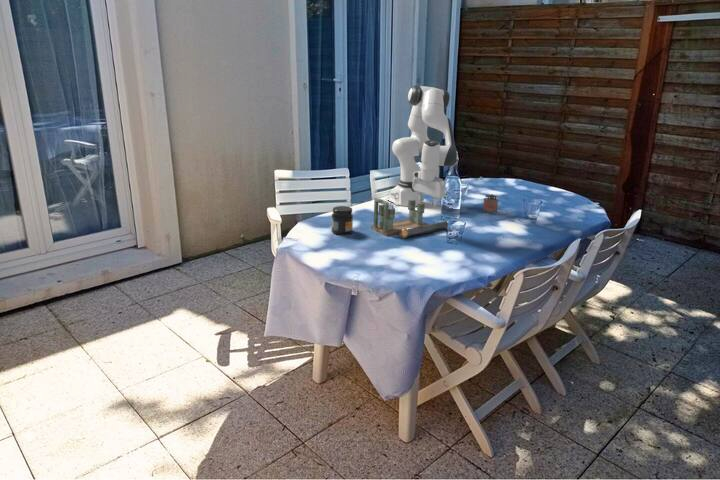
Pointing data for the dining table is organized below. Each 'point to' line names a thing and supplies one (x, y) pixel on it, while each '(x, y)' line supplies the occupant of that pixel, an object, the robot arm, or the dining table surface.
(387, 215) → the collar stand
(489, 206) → the lighter
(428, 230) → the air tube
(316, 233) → the dining table surface
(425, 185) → the robot arm
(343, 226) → the supplement container
